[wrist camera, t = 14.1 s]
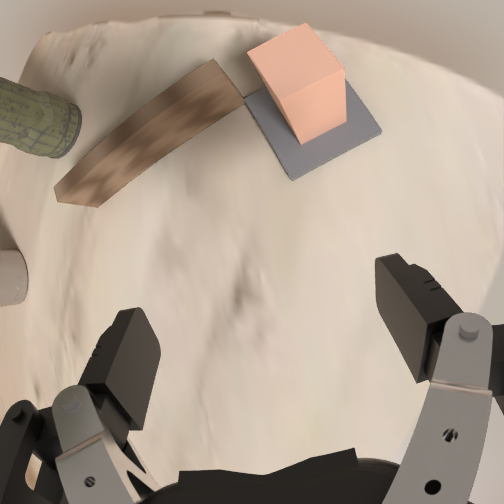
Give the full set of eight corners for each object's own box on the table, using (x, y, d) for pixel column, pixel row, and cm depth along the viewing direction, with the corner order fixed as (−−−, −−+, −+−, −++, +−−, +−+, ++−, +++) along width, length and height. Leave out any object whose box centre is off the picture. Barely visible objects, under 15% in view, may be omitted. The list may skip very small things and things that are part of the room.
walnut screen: (97, 207, 37) (57, 201, 30) (93, 194, 37) (53, 187, 31) (246, 102, 31) (222, 72, 25) (238, 90, 32) (213, 58, 25)
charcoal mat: (292, 181, 30) (290, 179, 29) (246, 102, 31) (243, 99, 30) (381, 133, 28) (381, 130, 27) (327, 59, 29) (326, 55, 28)
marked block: (300, 145, 29) (279, 100, 19) (275, 104, 30) (245, 50, 20) (346, 121, 28) (344, 68, 18) (319, 81, 28) (305, 21, 19)
